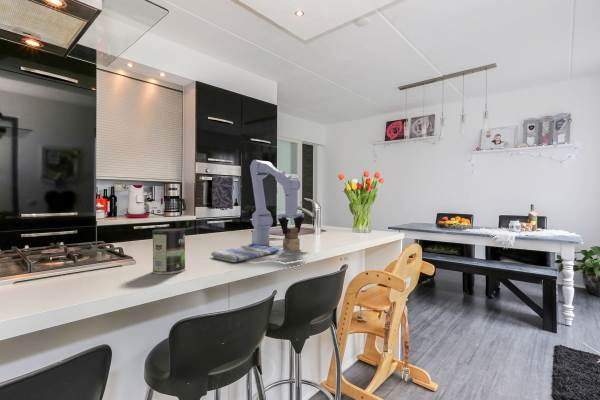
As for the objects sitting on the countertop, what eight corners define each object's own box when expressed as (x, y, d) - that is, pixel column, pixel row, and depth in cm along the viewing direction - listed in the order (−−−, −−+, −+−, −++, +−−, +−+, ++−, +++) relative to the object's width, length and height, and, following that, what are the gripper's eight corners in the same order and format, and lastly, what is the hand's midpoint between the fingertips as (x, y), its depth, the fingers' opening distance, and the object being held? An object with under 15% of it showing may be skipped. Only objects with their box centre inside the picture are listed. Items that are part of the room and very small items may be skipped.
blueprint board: (255, 250, 143) (255, 248, 143) (281, 246, 154) (281, 244, 154) (275, 255, 131) (275, 253, 131) (303, 250, 142) (303, 248, 142)
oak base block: (282, 248, 142) (282, 238, 142) (291, 247, 146) (291, 237, 146) (290, 250, 138) (290, 239, 138) (299, 249, 142) (299, 238, 142)
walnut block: (284, 238, 142) (284, 227, 142) (291, 237, 145) (291, 227, 145) (290, 239, 139) (290, 228, 139) (297, 238, 142) (297, 227, 142)
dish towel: (209, 257, 126) (209, 251, 126) (254, 248, 143) (254, 242, 143) (234, 263, 114) (233, 256, 114) (279, 253, 131) (279, 246, 131)
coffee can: (188, 266, 109) (187, 227, 109) (181, 274, 99) (181, 230, 99) (157, 268, 108) (157, 228, 108) (148, 275, 97) (147, 231, 97)
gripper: (284, 204, 134) (284, 235, 134) (308, 204, 144) (308, 232, 144) (274, 204, 139) (274, 233, 140) (298, 203, 149) (298, 231, 149)
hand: (291, 233), depth 142 cm, fingers open, 7 cm apart
